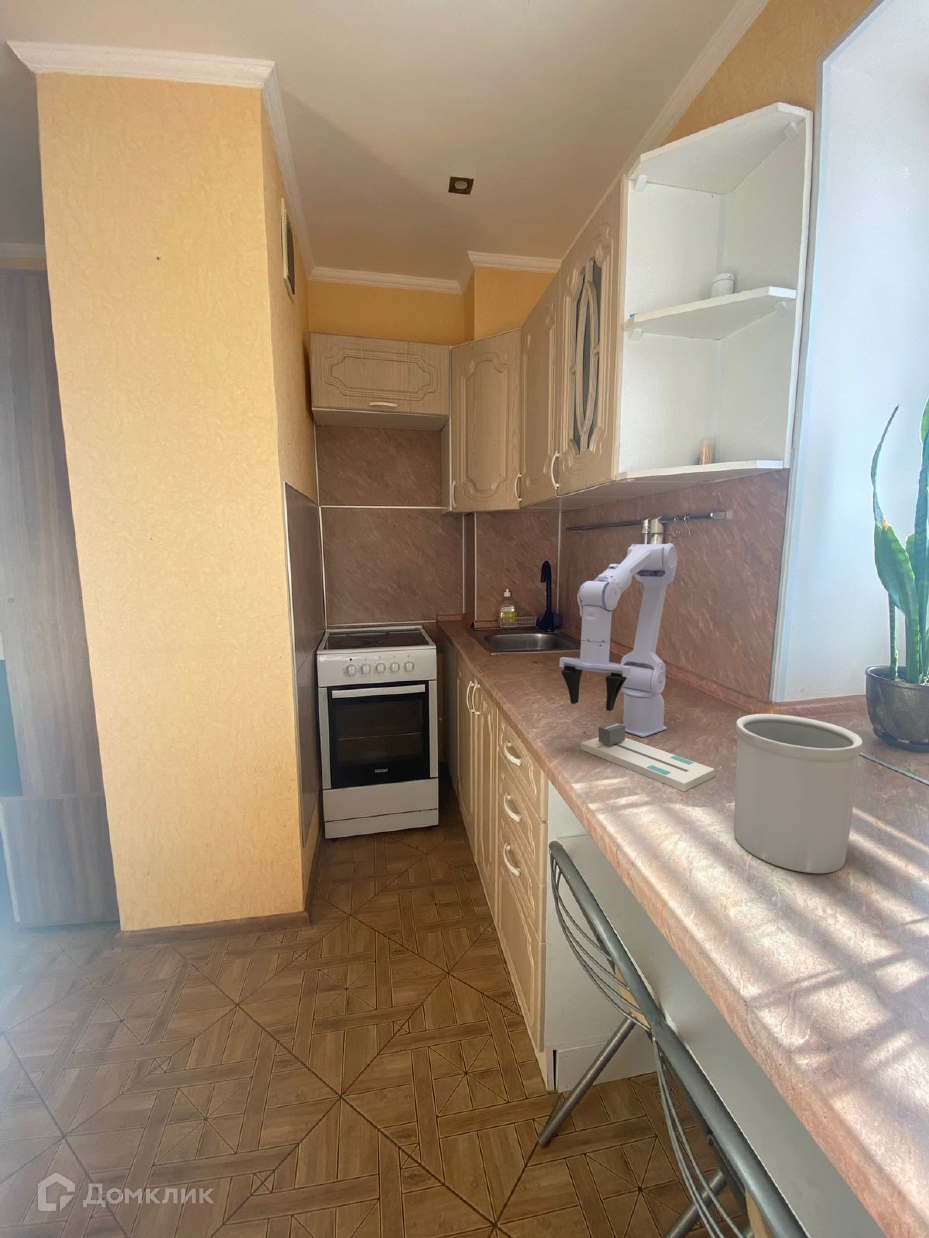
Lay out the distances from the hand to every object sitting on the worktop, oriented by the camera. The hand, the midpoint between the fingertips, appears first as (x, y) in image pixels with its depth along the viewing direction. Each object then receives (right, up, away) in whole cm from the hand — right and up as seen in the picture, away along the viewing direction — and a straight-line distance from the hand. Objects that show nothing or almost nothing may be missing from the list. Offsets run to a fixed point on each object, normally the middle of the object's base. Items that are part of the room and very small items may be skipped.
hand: (591, 706), depth 104 cm
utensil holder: (+21, -15, -30) cm, 40 cm away
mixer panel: (+10, -11, -1) cm, 15 cm away
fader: (+6, -8, +5) cm, 11 cm away
